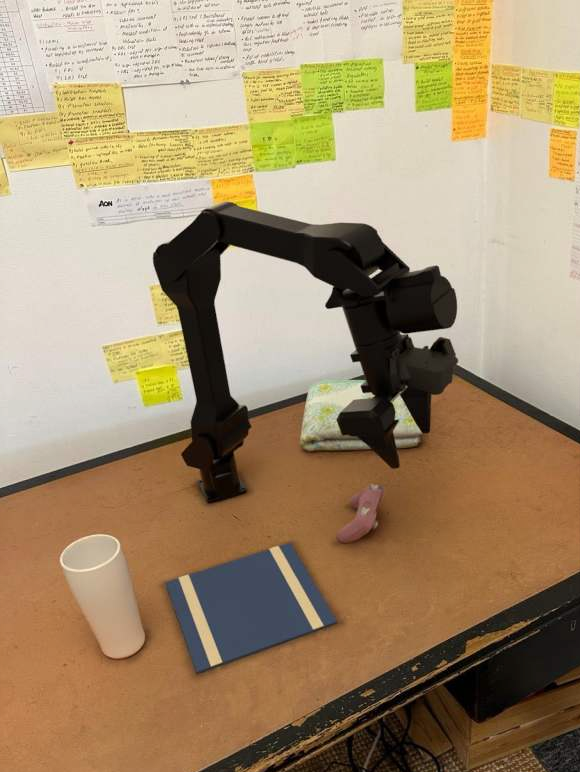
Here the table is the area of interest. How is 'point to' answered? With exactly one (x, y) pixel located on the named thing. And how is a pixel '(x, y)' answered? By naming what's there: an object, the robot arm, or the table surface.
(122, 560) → the white tapered cup
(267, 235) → the robot arm
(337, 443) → the towel
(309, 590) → the cloth
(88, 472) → the table surface
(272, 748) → the table surface
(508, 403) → the table surface
